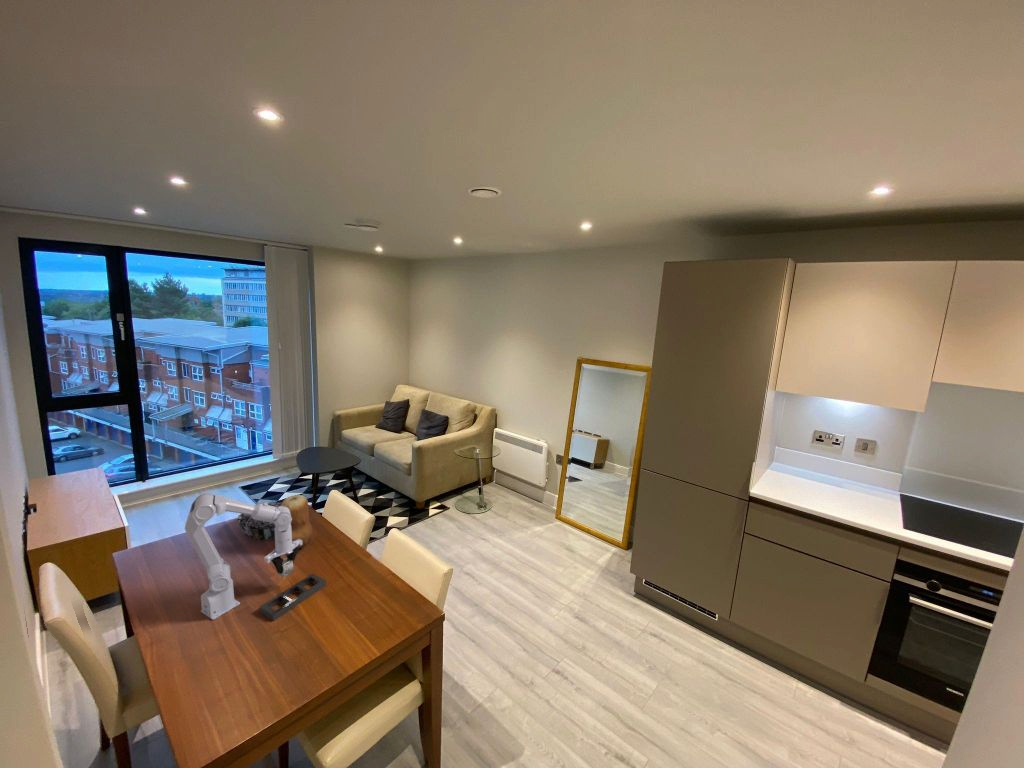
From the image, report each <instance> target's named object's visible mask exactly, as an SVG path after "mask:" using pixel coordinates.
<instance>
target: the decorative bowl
mask: <svg viewBox="0 0 1024 768" xmlns="http://www.w3.org/2000/svg"><path fill="white" fill-rule="evenodd" d="M281 504H282V502H272V503H268V505H270V506H274V507H278V506H279V507H280V506H281ZM236 523H238V525H239V528H241V530H242V532H243V534H245V535H246V536H247V537H249V538H250V539H253V540H257V541H258V542H263V541H270V540H275V530H274V529H275V524H274V523H271V522H266V521H261V520H256V519H253V518H252V516H251V515H248V514H241V513H239V514H238V515H237V518H236Z"/></svg>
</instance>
